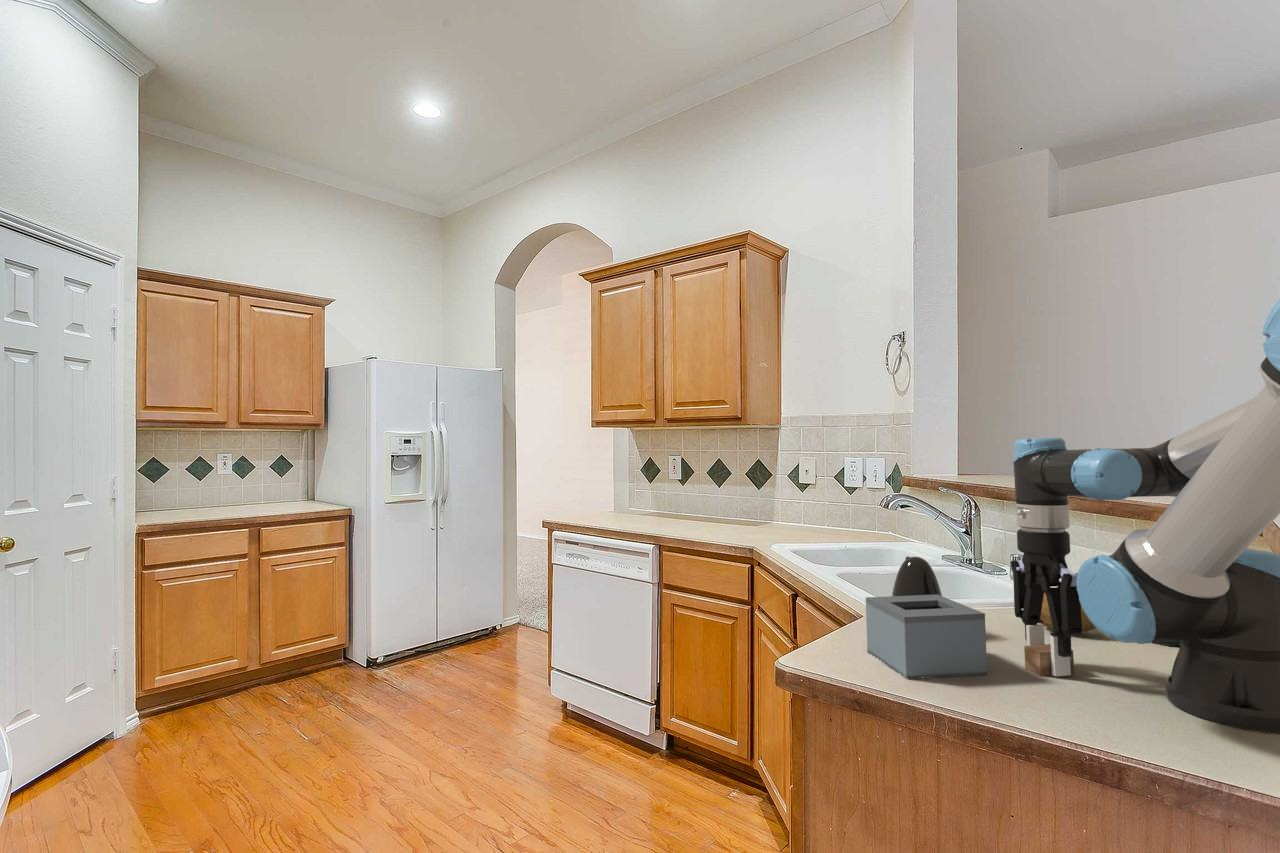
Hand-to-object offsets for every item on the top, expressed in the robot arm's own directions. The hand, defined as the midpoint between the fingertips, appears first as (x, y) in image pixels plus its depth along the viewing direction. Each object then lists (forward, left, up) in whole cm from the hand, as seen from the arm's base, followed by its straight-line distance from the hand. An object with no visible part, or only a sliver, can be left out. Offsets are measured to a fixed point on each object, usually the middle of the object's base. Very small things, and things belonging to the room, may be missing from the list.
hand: (1048, 668), depth 105 cm
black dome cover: (+25, +9, -1) cm, 26 cm away
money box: (+7, +18, 0) cm, 19 cm away
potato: (+20, -20, -1) cm, 28 cm away
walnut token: (0, 0, 0) cm, 0 cm away
